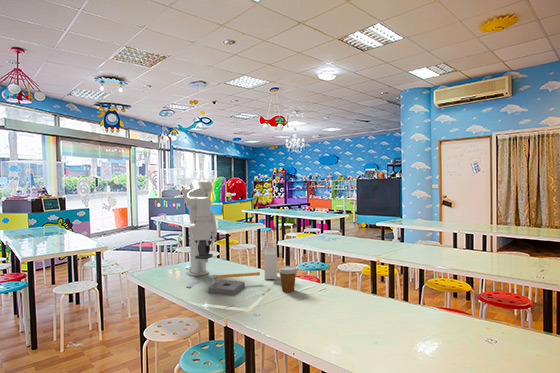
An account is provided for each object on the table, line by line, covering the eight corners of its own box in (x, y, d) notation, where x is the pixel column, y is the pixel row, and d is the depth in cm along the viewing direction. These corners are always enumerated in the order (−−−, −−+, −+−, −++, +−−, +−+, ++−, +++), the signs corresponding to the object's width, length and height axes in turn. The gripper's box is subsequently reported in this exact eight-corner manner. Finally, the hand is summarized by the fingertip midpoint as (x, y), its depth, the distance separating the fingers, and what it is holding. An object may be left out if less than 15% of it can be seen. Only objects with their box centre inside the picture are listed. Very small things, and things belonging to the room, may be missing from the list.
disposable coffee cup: (297, 287, 175) (297, 265, 174) (296, 293, 165) (296, 270, 165) (280, 287, 175) (279, 265, 175) (278, 293, 166) (277, 270, 166)
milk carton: (276, 279, 190) (276, 247, 189) (264, 279, 190) (264, 247, 190) (277, 276, 197) (276, 245, 197) (265, 276, 197) (265, 245, 197)
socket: (203, 294, 165) (202, 284, 165) (216, 286, 178) (216, 276, 178) (233, 298, 160) (233, 286, 160) (244, 289, 173) (244, 278, 173)
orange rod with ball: (211, 279, 172) (211, 276, 172) (211, 277, 175) (211, 275, 175) (260, 275, 178) (260, 272, 178) (259, 274, 181) (259, 271, 181)
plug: (195, 263, 179) (195, 241, 179) (201, 260, 186) (201, 239, 186) (206, 264, 177) (206, 242, 177) (212, 261, 184) (212, 239, 184)
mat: (186, 287, 177) (186, 286, 177) (200, 280, 190) (200, 279, 190) (209, 289, 173) (209, 288, 173) (221, 282, 186) (221, 281, 186)
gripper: (186, 220, 180) (187, 252, 180) (213, 220, 175) (214, 254, 175) (194, 218, 187) (194, 250, 187) (220, 219, 182) (220, 251, 182)
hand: (204, 251), depth 181 cm, fingers closed on plug, 4 cm apart
